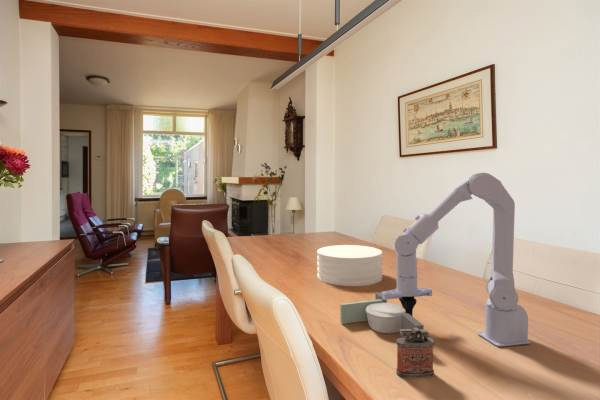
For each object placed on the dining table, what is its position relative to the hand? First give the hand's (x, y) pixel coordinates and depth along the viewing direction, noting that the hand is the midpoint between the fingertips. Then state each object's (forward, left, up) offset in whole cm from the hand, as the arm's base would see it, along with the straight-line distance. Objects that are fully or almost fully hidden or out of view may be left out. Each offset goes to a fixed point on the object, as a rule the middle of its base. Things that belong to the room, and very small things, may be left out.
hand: (407, 322), depth 102 cm
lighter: (+10, +24, -1) cm, 26 cm away
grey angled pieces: (+4, +2, -1) cm, 5 cm away
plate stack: (0, -54, -2) cm, 54 cm away
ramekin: (+6, -1, -1) cm, 7 cm away
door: (+12, -6, -1) cm, 13 cm away
